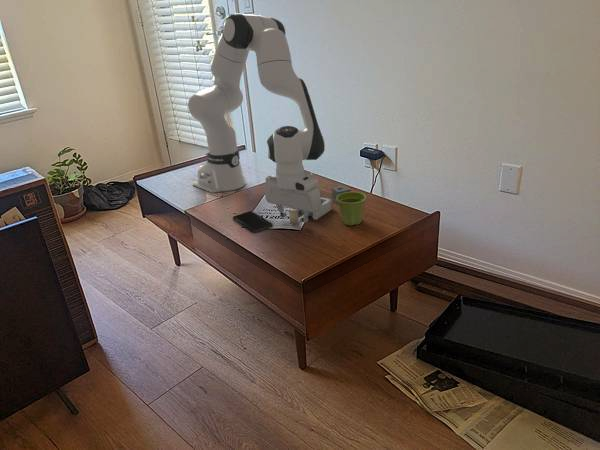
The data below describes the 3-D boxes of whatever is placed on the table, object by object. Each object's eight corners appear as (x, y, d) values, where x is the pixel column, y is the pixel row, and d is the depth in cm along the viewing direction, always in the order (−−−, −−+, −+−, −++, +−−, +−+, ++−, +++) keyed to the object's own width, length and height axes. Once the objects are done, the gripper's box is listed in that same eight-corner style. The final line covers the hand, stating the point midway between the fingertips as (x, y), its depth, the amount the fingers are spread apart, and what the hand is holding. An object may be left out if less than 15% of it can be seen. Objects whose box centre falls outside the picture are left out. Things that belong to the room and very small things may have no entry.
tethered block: (285, 223, 160) (283, 204, 157) (309, 208, 170) (308, 190, 167) (297, 226, 157) (296, 206, 154) (321, 211, 167) (320, 192, 164)
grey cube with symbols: (332, 200, 175) (331, 187, 173) (344, 197, 177) (344, 185, 175) (338, 205, 171) (337, 192, 169) (351, 202, 172) (350, 189, 170)
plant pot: (358, 230, 152) (358, 204, 148) (332, 225, 157) (331, 200, 153) (371, 218, 159) (371, 194, 155) (345, 214, 164) (344, 190, 160)
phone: (253, 231, 155) (231, 216, 166) (253, 234, 155) (231, 219, 167) (274, 224, 159) (251, 210, 170) (274, 227, 159) (251, 213, 170)
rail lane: (293, 214, 166) (292, 204, 165) (310, 204, 174) (309, 194, 172) (316, 219, 161) (315, 209, 160) (332, 208, 168) (332, 199, 167)
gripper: (259, 177, 157) (263, 216, 162) (311, 187, 145) (313, 229, 151) (271, 171, 161) (275, 209, 167) (322, 180, 150) (324, 221, 156)
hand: (293, 219), depth 159 cm, fingers open, 7 cm apart
